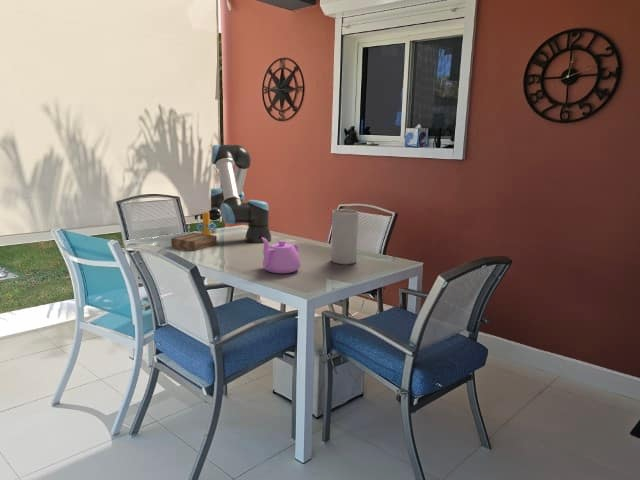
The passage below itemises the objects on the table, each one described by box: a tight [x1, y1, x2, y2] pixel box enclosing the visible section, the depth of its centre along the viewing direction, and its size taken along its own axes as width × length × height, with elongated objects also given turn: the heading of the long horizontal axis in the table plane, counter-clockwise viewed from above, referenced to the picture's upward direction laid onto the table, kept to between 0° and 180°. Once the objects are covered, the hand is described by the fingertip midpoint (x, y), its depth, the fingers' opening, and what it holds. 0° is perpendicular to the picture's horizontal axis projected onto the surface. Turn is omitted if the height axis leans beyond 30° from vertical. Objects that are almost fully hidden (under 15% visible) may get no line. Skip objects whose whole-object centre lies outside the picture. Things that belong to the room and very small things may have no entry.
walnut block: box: [170, 232, 218, 252], centre depth 267 cm, size 16×18×5 cm
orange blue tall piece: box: [196, 211, 217, 235], centre depth 289 cm, size 12×10×15 cm
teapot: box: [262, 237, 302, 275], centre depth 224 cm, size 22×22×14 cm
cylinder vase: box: [330, 209, 359, 265], centre depth 239 cm, size 12×12×25 cm
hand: (209, 219), depth 298 cm, fingers open, 13 cm apart
